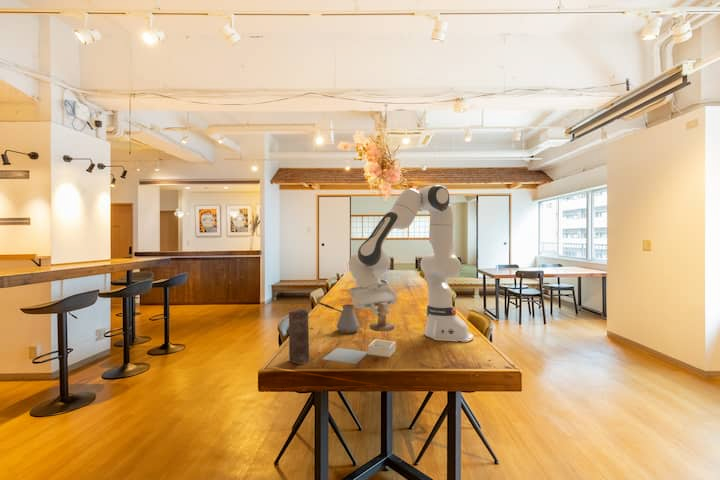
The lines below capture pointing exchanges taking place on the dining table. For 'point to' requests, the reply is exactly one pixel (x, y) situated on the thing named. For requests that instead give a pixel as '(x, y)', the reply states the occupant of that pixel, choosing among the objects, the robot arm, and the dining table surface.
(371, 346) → the dish
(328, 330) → the dining table surface
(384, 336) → the dining table surface
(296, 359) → the candle
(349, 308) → the coffee pot
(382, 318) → the lid
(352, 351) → the mat
